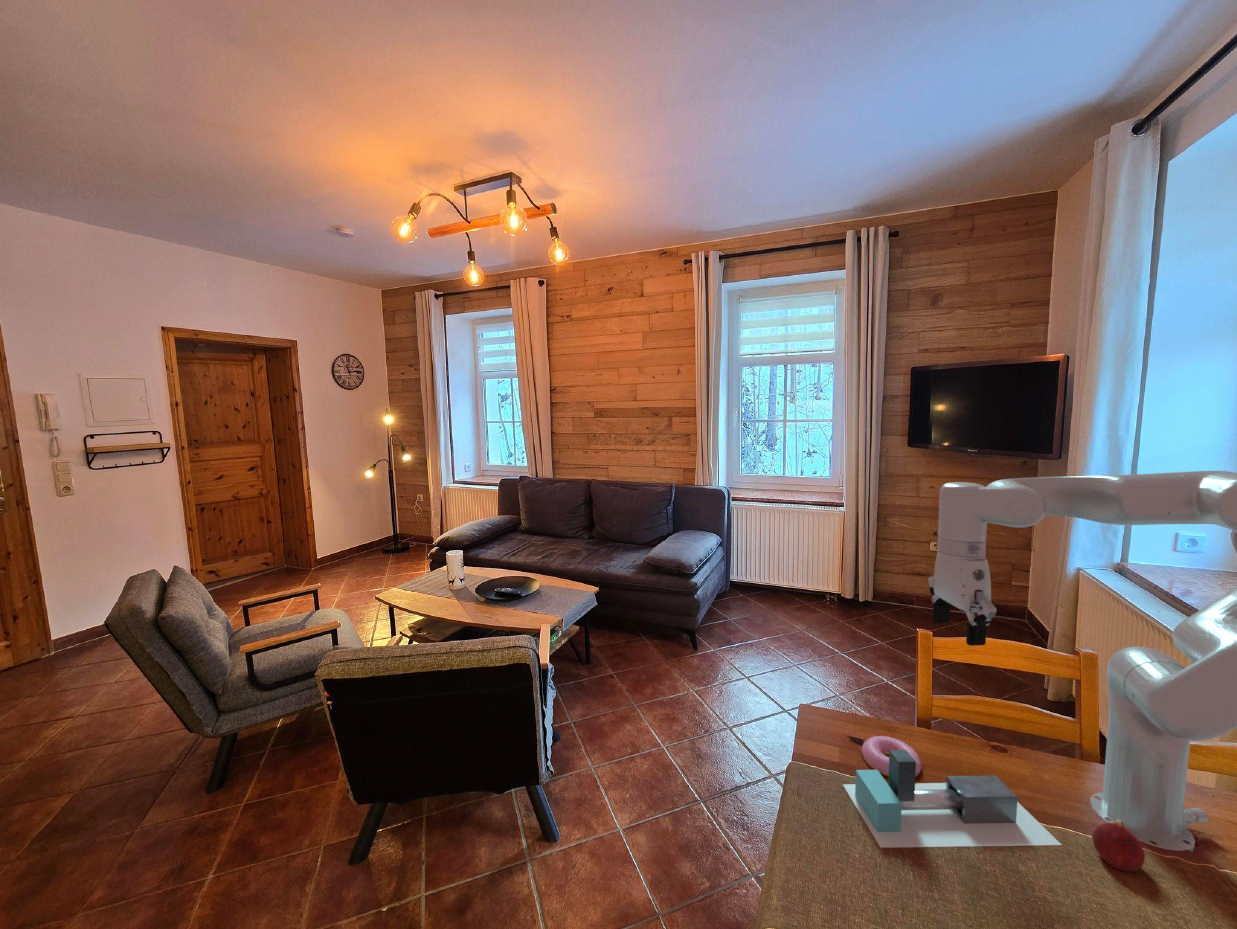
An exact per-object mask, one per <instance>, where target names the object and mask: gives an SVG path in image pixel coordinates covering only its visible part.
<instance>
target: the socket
mask: <svg viewBox="0 0 1237 929" xmlns="http://www.w3.org/2000/svg"><path fill="white" fill-rule="evenodd" d="M855 784H856V786H855V797H856V798H857V800H858V802H859V803H860V805H861V806H862V808H863V810H864V811H865V813H866V815H867V816H868V818H869V819H870V821H871V823H872V824H873V826H874V828H875V829H876V831H877V832H901V806H902V803H901V802H900V800H899V799H898V798H897V796H896V795H895V793H894V792H893V791H892V789H891V788H890V787H889V785H888V782H887V781H886V779H885V778H884V777H883V774H882V773H880V772H879V771H878V770H875V769H855Z"/></svg>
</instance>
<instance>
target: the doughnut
mask: <svg viewBox="0 0 1237 929" xmlns="http://www.w3.org/2000/svg"><path fill="white" fill-rule="evenodd" d="M889 750H906V751H907V752H908V753H909V754H910V755H911V756H912V758H913V759H914V760H915V761H916V772H915V778H916V777H917V776H919V774H920V772H921V771H922V762H921V759H920V756H919V755H918V753H917V752H916V751H915V750H914V748H912V747H911V746H910V744H907V743H906V742H904V741H902V740H900V739H897V738H896V737H892V736H891V737H890V736H885V735H879V734H877V735H876V736H875V735H874V736H872V737H871V736H870V737H868V738H867V739H866V740H864V741H863V744H862V746H861V753H862V754H861V755H862V757H863V760H864V761H865V763H866V764H867V765H869V766H870V767H871V768H873V769H872V770H878V771H879V773H880V774H881V775H884V776H887V777H889V756H888V755H889Z"/></svg>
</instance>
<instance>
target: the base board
mask: <svg viewBox="0 0 1237 929" xmlns="http://www.w3.org/2000/svg"><path fill="white" fill-rule="evenodd" d="M842 786H843V788H844V789H845V791H846V792H847V794H848V795H849V797H850V799H851V801H852V802H853V804H854V806H855V808H856V809H857V811H858V812H859V814H860V816H861V818H862V820H863V821H864V822H865V824H866V826H867V827H868V829H869V831H870V832H871V834H872V836H873V837H874V839H875V841H876V843H877V844H878V846H879V847H880V848H882V849H884V848H889V849H891V848H893V849H894V848H946V847H947V848H950V847H953V848H957V847H959V848H960V847H961V848H962V847H964V848H965V847H967V848H968V847H1022V846H1023V847H1025V846H1027V847H1028V846H1031V847H1032V846H1033V847H1035V846H1036V847H1037V846H1038V847H1039V846H1041V847H1043V846H1046V847H1047V846H1063V845H1062V843H1060V842H1059V840H1057V839H1056V837H1055V836H1054V835H1052V833H1051V832H1049V831H1048V829H1047V828H1045V827H1044V826H1043V825H1042V824H1041V822H1039V821H1038V820H1037V819H1036V818H1035V817H1034V816H1033V815H1032V814H1031V813H1030V812H1029V811H1028V810H1027V809H1026V808H1025V807H1024V806H1023V805H1021V804H1020V803H1019V802H1018V801H1017V815H1016V823H972V824H964V823H963V821H962V820H961V819H960V818H959V817H958V815H957V814H956V813H955V812H954V811H953V810H901V832H877V831H876V829H875V828H874V826H873V824H872V823H871V821H870V819H869V818H868V816H867V815H866V813H865V811H864V810H863V808H862V806H861V805H860V803H859V802H858V800H857V798H856V797H855V786H856V783H854V784H853V783H850V784H848V783H846V784H844V783H843V784H842ZM935 789H946V782H927V783H926V782H925V783H922V782H919V783H918V782H915V790H935Z"/></svg>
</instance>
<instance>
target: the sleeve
mask: <svg viewBox="0 0 1237 929" xmlns="http://www.w3.org/2000/svg"><path fill="white" fill-rule="evenodd" d="M945 783H946V789H956V790H957V791H958V792H959V794H960V795H961V796H962V797H963V809H954V810H953V811H954V812H955V813H956V814H957V815H958V817H959V818H960V819H961V820H962V821H963V823H964V824H972V823H1016V815H1017V802H1018V798H1019V797H1018V795H1017V794H1016V793H1015V792H1014V791H1013V790H1012V789H1010V787H1008V785H1006V784H1005V783H1004V782H1003V781H1002V779H1000V777H998V776H997V775H946V782H945Z"/></svg>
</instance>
